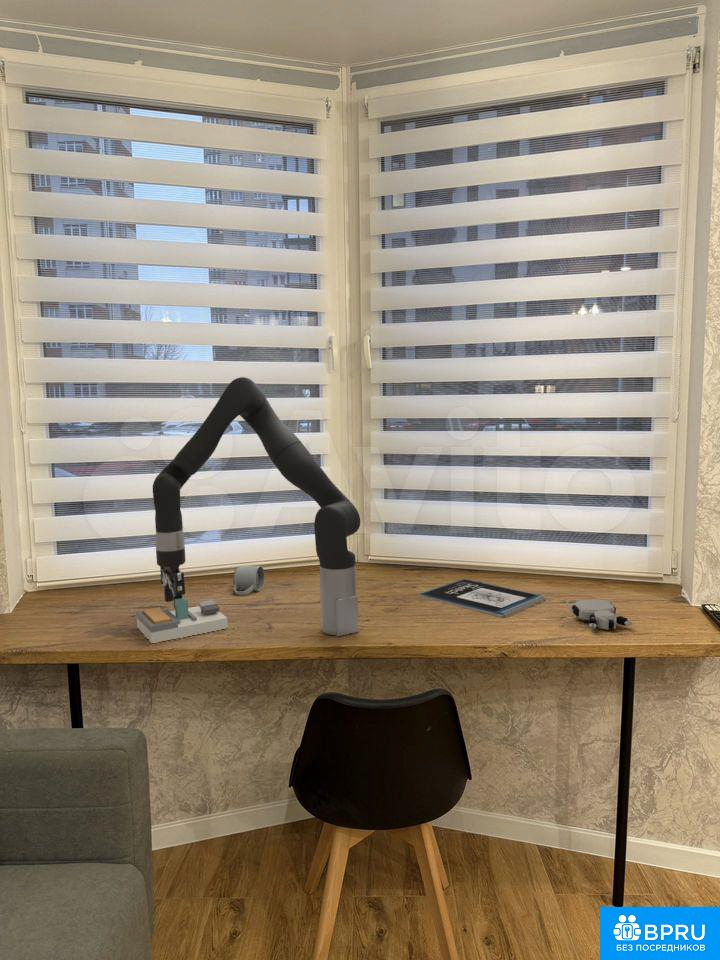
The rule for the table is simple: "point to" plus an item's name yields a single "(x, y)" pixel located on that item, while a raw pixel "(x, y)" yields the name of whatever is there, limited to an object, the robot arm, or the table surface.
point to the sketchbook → (484, 597)
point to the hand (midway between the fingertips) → (173, 605)
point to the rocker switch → (208, 607)
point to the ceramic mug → (248, 579)
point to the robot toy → (598, 613)
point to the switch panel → (181, 624)
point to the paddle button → (156, 615)
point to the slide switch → (181, 608)
